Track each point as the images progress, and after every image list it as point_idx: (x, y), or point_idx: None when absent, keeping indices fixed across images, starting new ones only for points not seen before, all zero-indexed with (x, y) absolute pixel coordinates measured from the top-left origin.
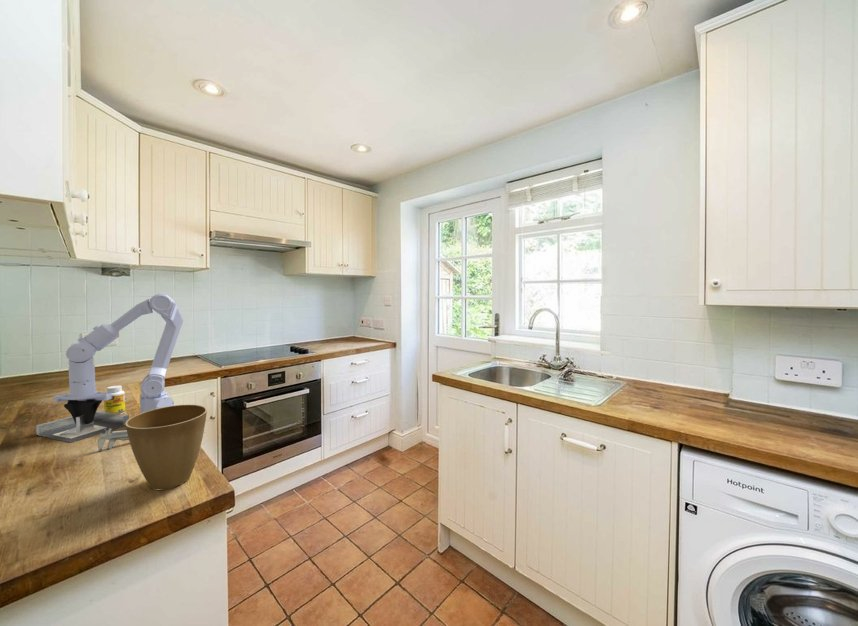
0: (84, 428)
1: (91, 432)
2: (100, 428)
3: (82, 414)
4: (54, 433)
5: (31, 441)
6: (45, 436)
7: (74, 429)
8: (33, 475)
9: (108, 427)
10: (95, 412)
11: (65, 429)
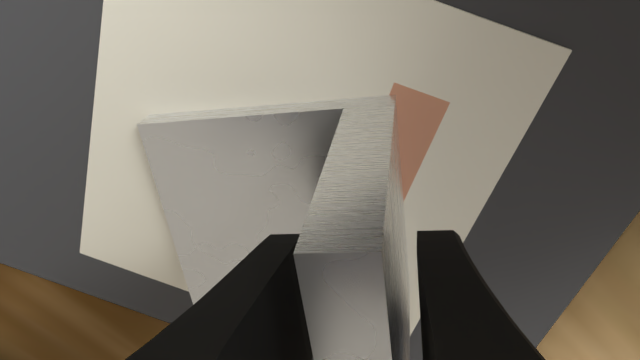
0: (406, 276)
1: (480, 223)
2: (499, 97)
3: (257, 344)
4: (57, 216)
5: (70, 349)
6: (65, 281)
7: (213, 192)
8: None
9: (594, 43)
10: (524, 342)
11: (25, 99)
